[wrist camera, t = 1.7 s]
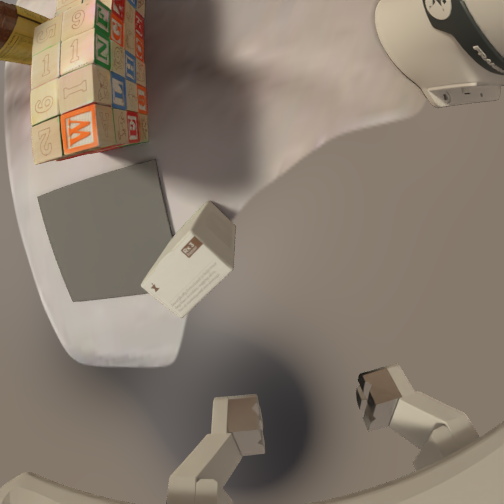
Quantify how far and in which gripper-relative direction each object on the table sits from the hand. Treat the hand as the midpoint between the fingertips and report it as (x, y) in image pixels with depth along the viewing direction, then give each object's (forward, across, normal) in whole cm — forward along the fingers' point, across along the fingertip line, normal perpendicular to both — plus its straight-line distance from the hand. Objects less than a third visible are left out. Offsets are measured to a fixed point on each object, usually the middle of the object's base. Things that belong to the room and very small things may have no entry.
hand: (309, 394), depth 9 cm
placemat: (+23, +18, -1) cm, 30 cm away
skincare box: (+23, +6, 0) cm, 24 cm away
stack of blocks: (+24, +12, -21) cm, 34 cm away
